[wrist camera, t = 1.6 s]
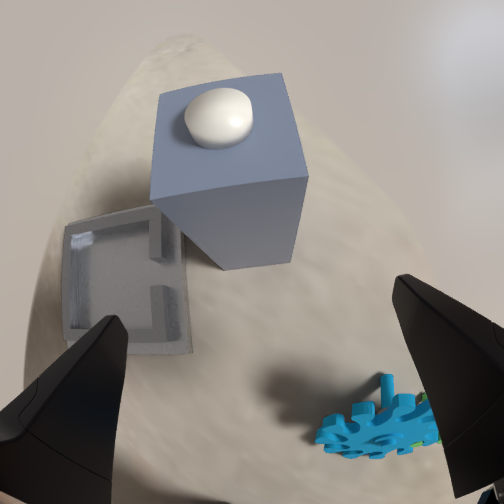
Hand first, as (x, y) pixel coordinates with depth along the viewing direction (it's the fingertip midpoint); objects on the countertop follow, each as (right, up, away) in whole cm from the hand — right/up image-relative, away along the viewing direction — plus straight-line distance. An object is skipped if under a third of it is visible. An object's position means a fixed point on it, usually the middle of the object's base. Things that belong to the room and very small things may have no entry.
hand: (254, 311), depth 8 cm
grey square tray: (-11, -1, +13) cm, 17 cm away
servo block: (0, +3, +13) cm, 14 cm away
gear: (+10, -11, +9) cm, 17 cm away
